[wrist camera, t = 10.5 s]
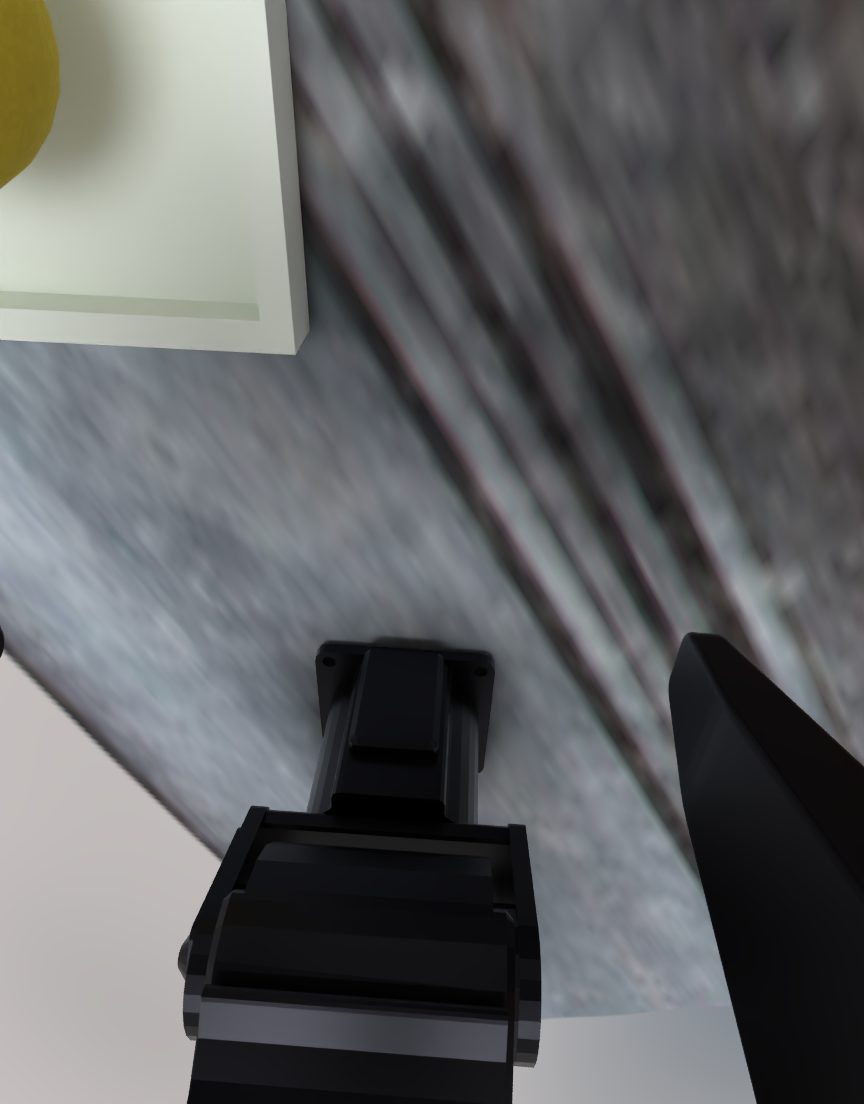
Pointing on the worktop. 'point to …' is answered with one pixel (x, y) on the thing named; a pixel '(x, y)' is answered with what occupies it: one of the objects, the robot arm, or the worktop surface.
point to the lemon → (26, 83)
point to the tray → (162, 184)
